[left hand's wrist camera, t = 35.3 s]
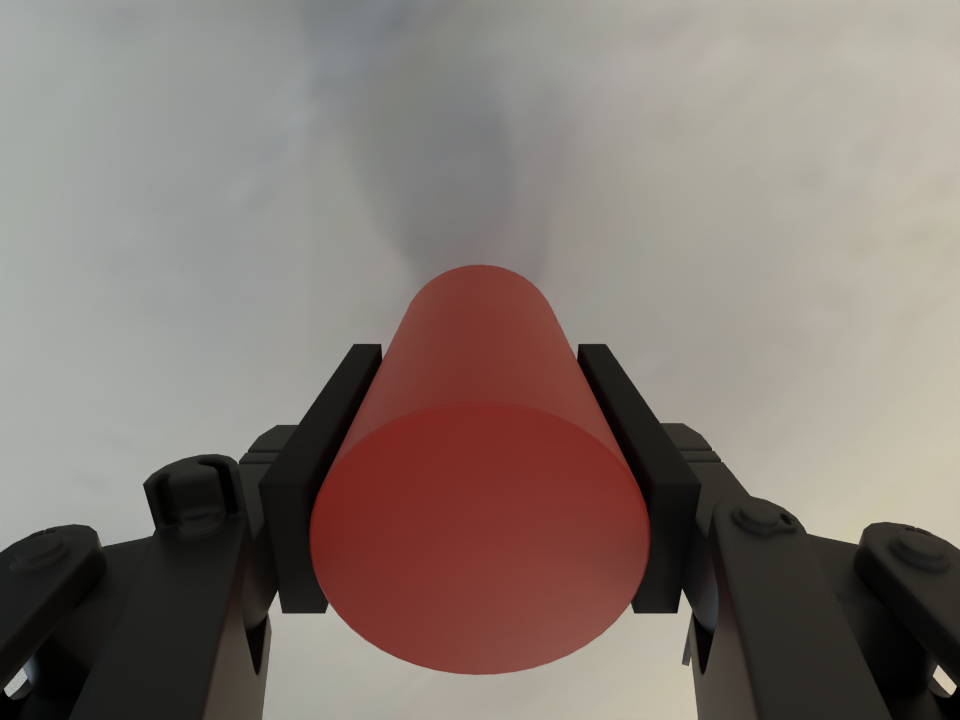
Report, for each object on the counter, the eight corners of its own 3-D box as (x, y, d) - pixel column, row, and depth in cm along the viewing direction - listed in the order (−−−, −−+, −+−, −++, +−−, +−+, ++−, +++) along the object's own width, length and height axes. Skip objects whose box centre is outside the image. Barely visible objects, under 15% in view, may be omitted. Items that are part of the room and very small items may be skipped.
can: (587, 360, 18) (711, 587, 8) (462, 438, 19) (445, 716, 9) (499, 230, 16) (528, 329, 7) (368, 325, 17) (234, 524, 8)
